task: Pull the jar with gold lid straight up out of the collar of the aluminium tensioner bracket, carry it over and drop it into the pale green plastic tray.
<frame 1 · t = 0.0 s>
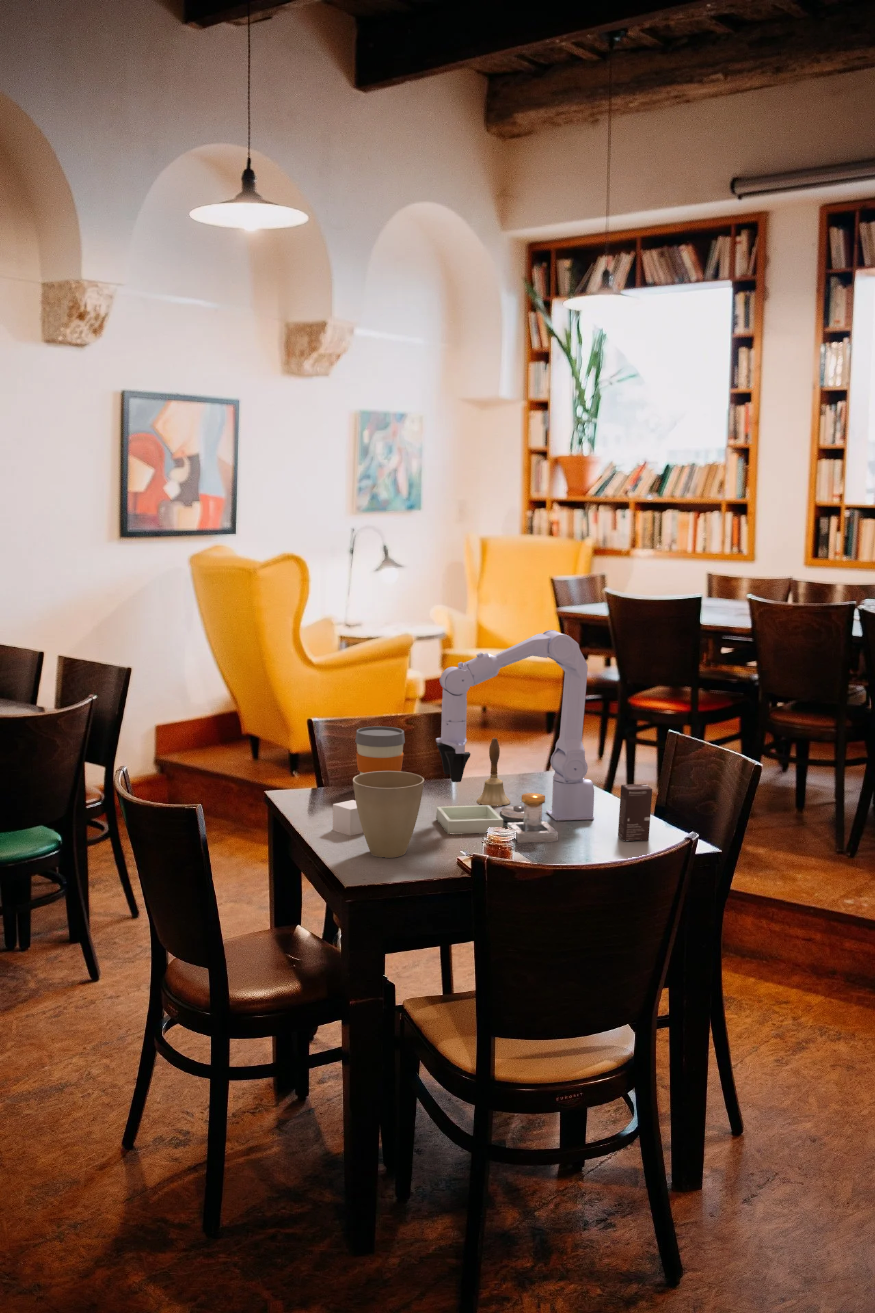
hand: (452, 777, 282), 10 cm above the table, tool pointing down, fingers open, 7 cm apart
tensioner bracket: (532, 836, 272), on the table
parts tray: (469, 826, 279), on the table
jar with gold lid: (532, 836, 272), resting in tensioner bracket
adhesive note: (351, 831, 274), on the table
plant pot: (387, 854, 257), on the table
hand bell: (493, 803, 301), on the table
box: (633, 840, 272), on the table
reusable coffee cup: (379, 789, 312), on the table
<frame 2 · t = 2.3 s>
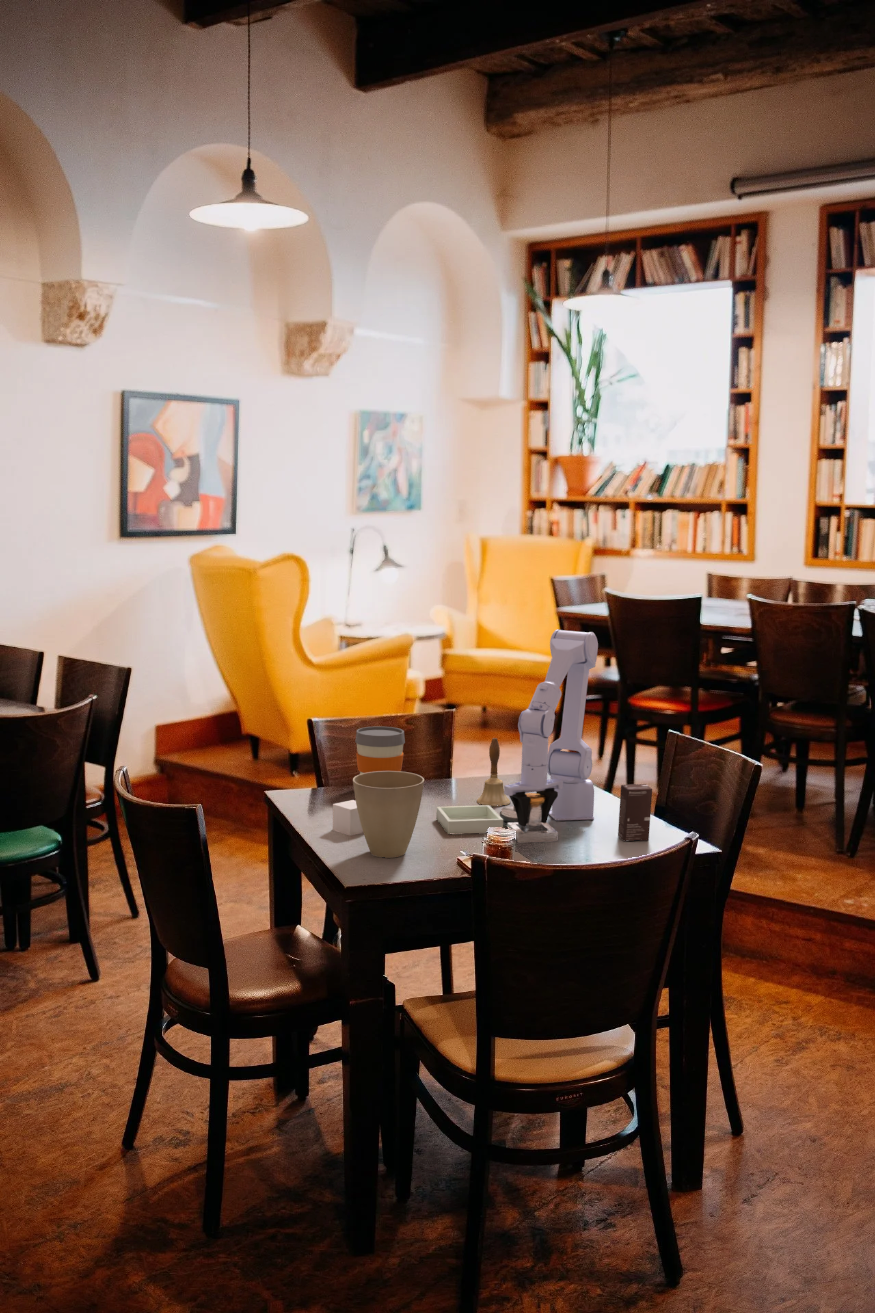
hand: (532, 823, 272), 3 cm above the table, tool pointing down, fingers closed on jar with gold lid, 5 cm apart
jar with gold lid: (532, 836, 272), resting in tensioner bracket, touching gripper
everything else where it was.
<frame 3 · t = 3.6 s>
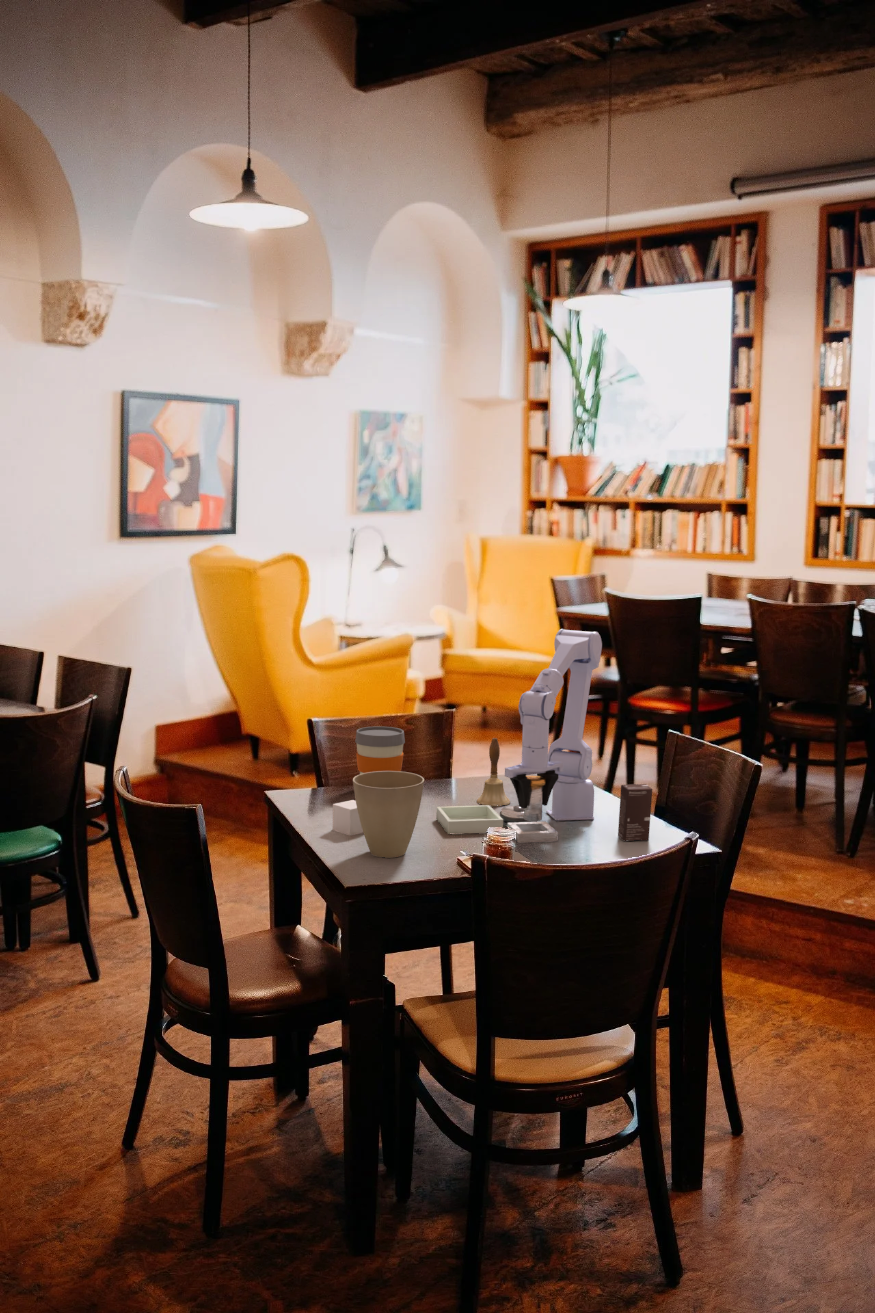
hand: (533, 806, 271), 7 cm above the table, tool pointing down, fingers closed on jar with gold lid, 5 cm apart
jar with gold lid: (532, 818, 272), point 4 cm above the table, touching gripper
everything else where it was.
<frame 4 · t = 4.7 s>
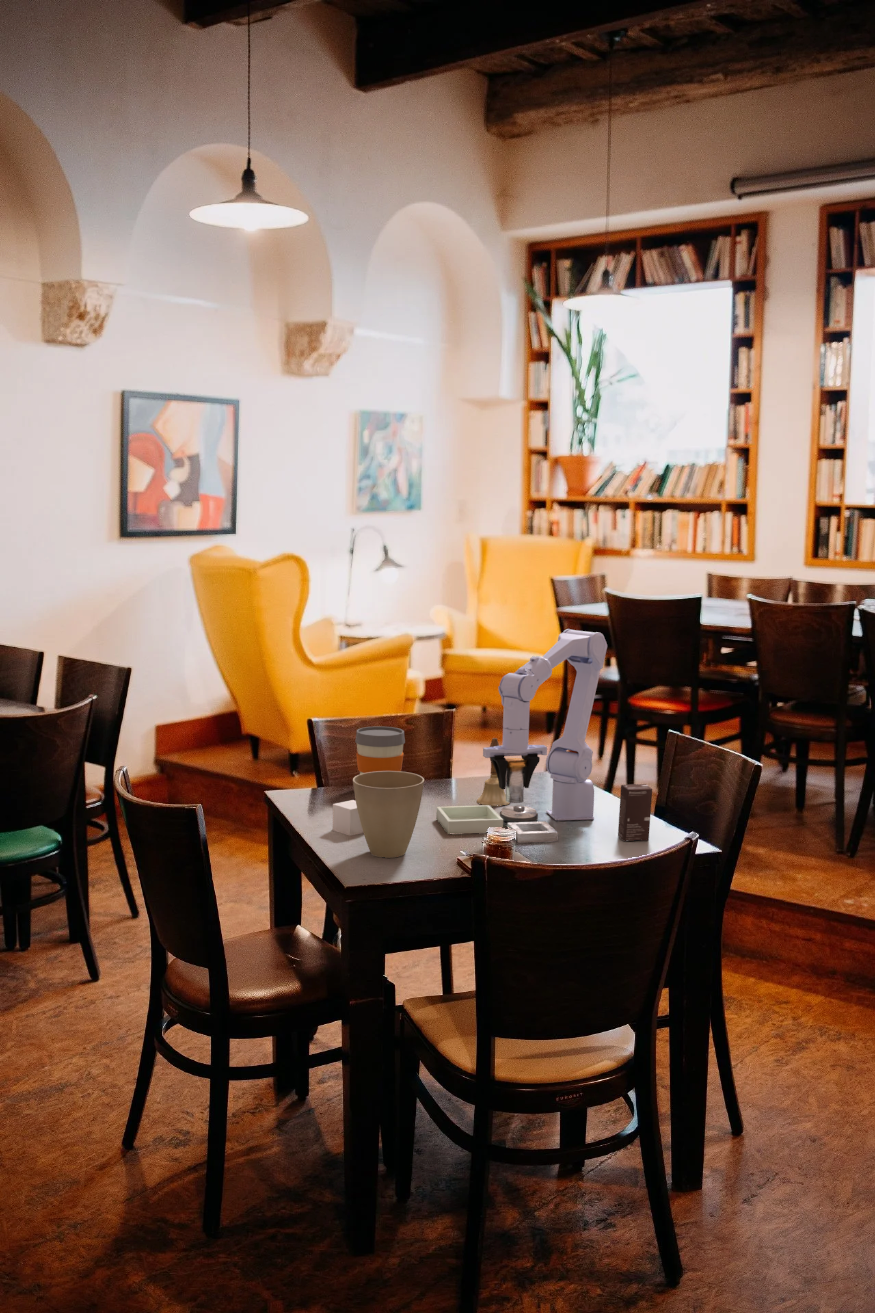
hand: (513, 787, 273), 10 cm above the table, tool pointing down, fingers closed on jar with gold lid, 5 cm apart
jar with gold lid: (514, 800, 273), point 7 cm above the table, touching gripper
everything else where it was.
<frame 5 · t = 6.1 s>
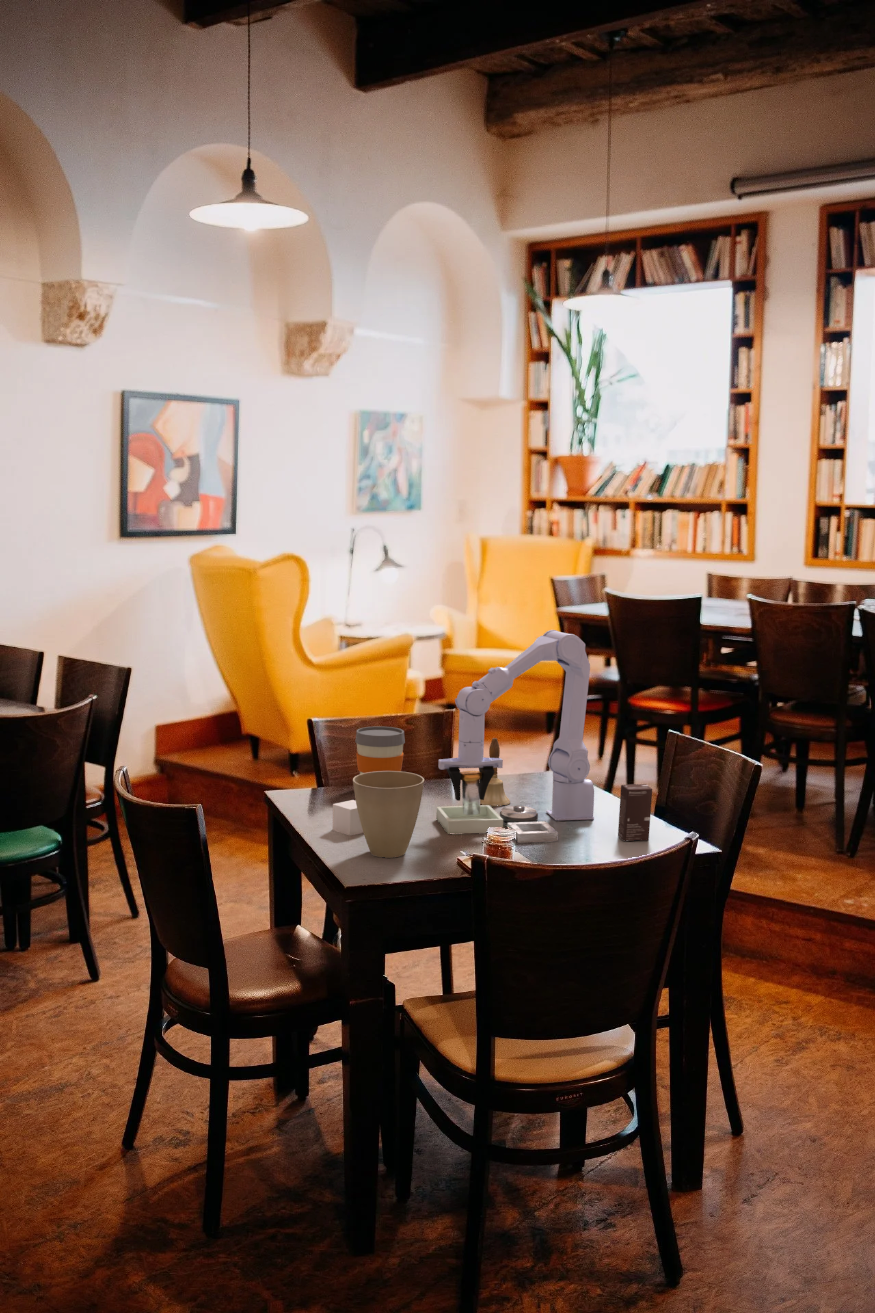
hand: (469, 799, 278), 6 cm above the table, tool pointing down, fingers closed on jar with gold lid, 5 cm apart
jar with gold lid: (471, 812, 278), point 3 cm above the table, touching gripper
everything else where it was.
when the fingers open (5 cm above the table, at t = 7.3 s): jar with gold lid drops 1 cm, resting on parts tray.
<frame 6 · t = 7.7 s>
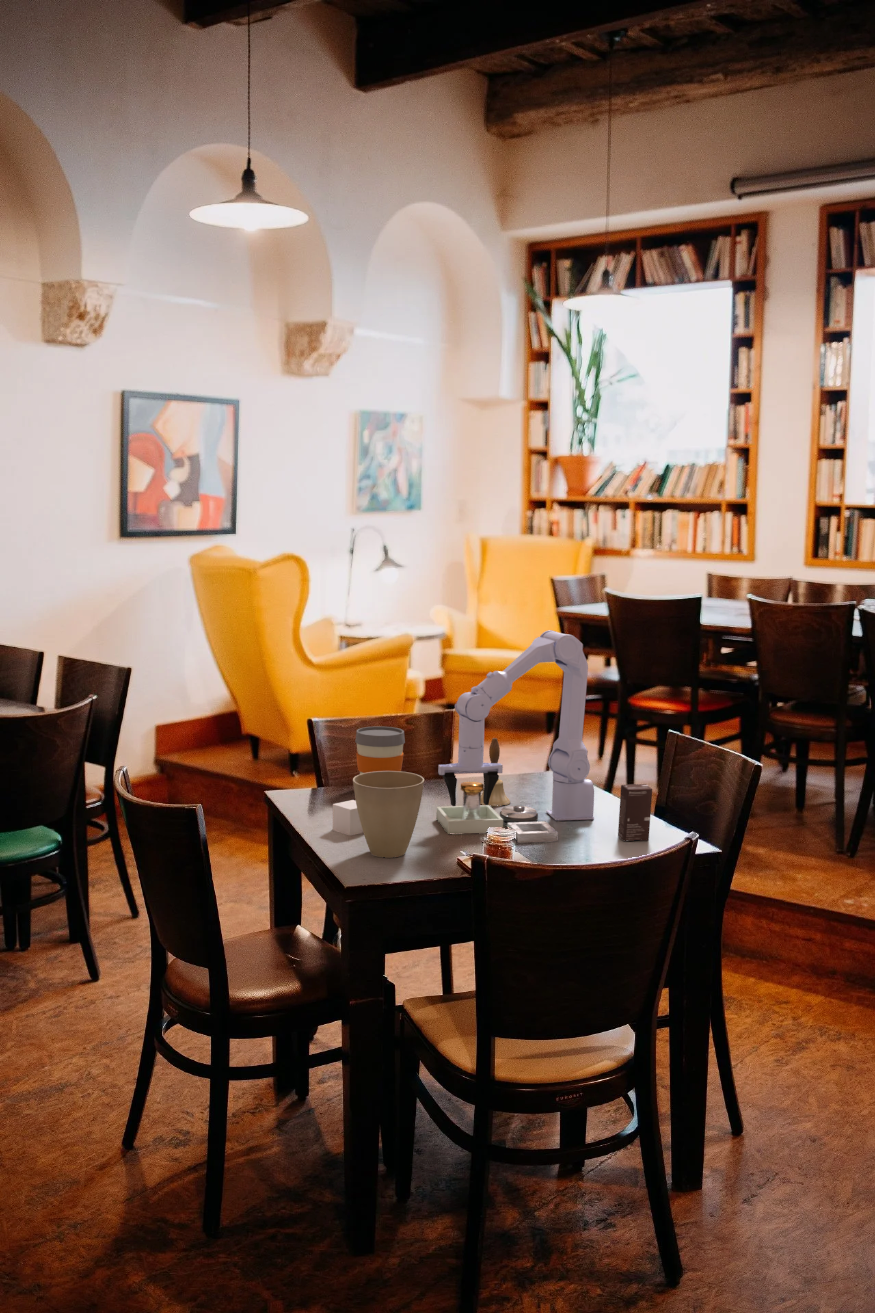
hand: (469, 804, 279), 5 cm above the table, tool pointing down, fingers open, 7 cm apart
jar with gold lid: (471, 823, 279), point 1 cm above the table, touching parts tray
everything else where it was.
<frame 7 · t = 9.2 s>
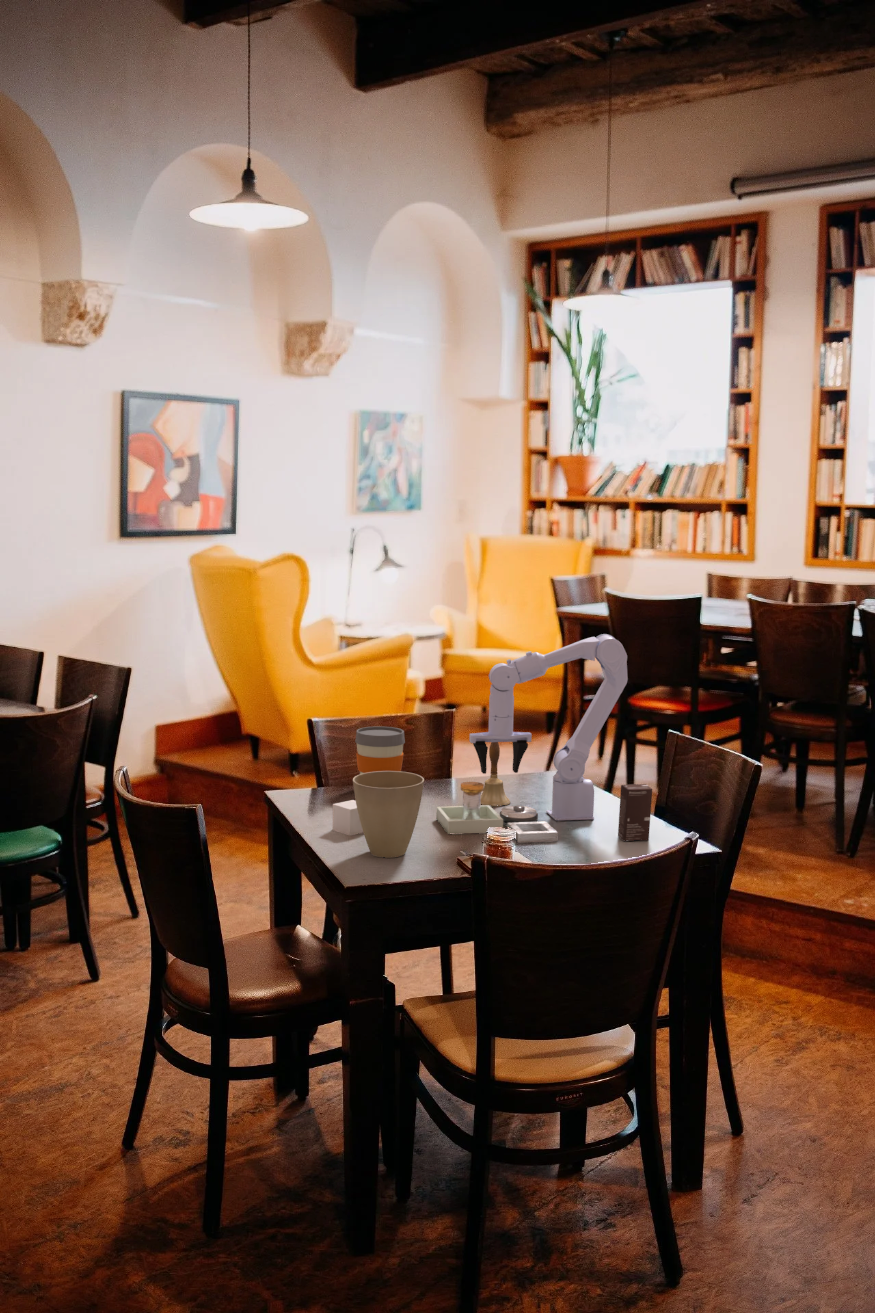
hand: (499, 772, 288), 10 cm above the table, tool pointing down, fingers open, 7 cm apart
nothing on the table moved.
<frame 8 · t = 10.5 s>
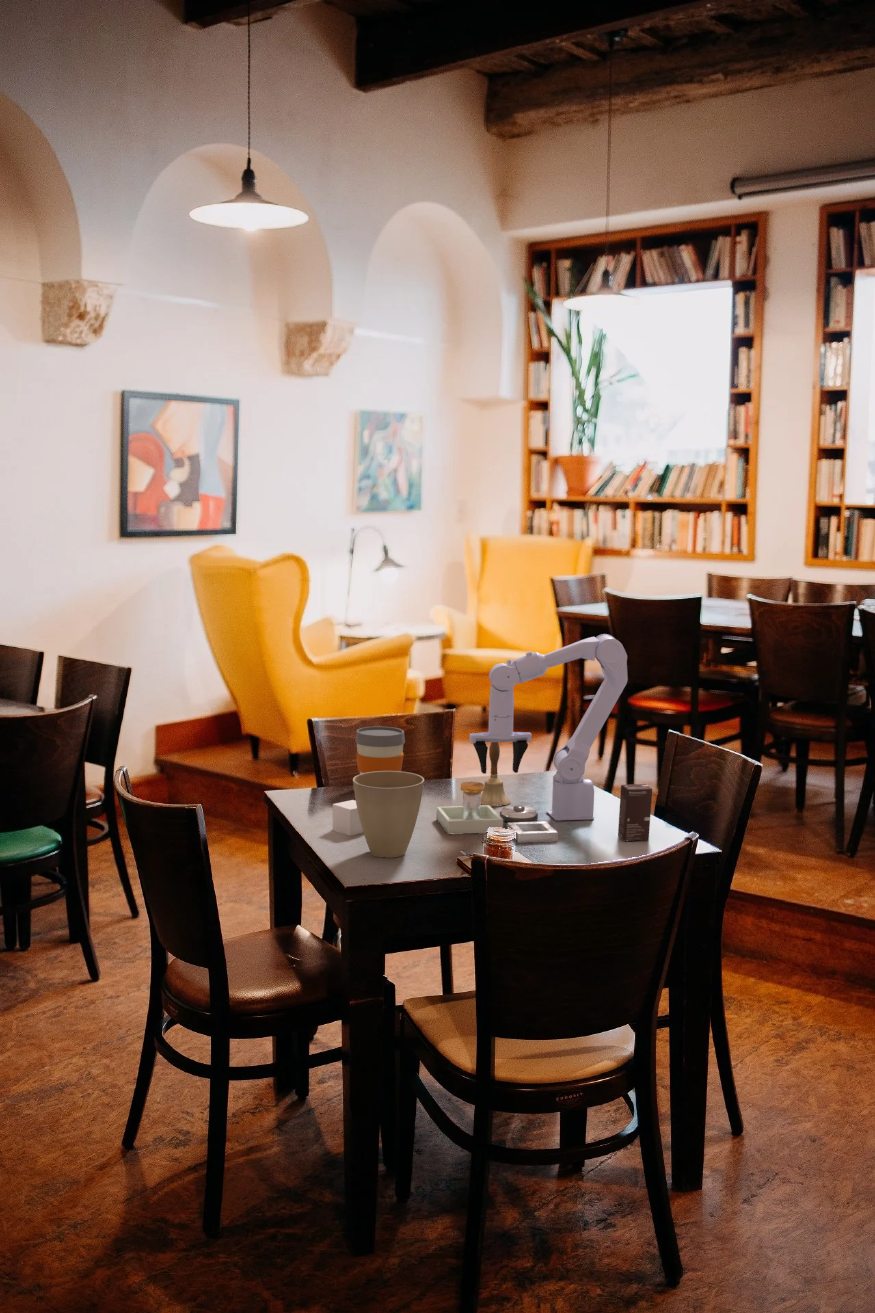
hand: (499, 772, 288), 10 cm above the table, tool pointing down, fingers open, 7 cm apart
nothing on the table moved.
at the end: jar with gold lid inside the target area on the parts tray (0.6 cm from its centre), point 0.6 cm above the parts tray's base; the gripper is holding nothing; jar with gold lid moved 15.0 cm from its start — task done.
